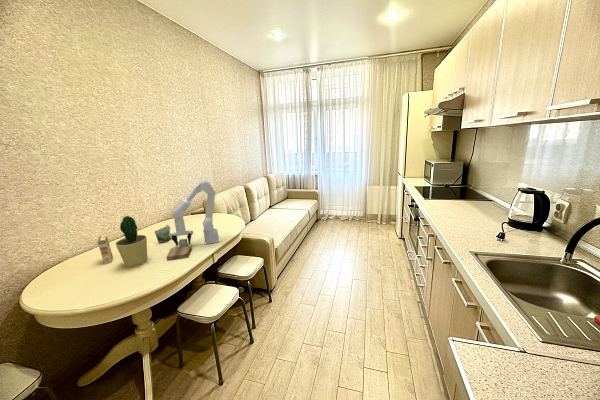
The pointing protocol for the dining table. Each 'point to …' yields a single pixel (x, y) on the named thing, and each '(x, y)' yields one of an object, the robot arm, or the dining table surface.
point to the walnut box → (179, 253)
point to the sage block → (183, 243)
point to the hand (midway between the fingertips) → (183, 245)
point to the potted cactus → (132, 244)
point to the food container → (163, 234)
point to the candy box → (105, 249)
